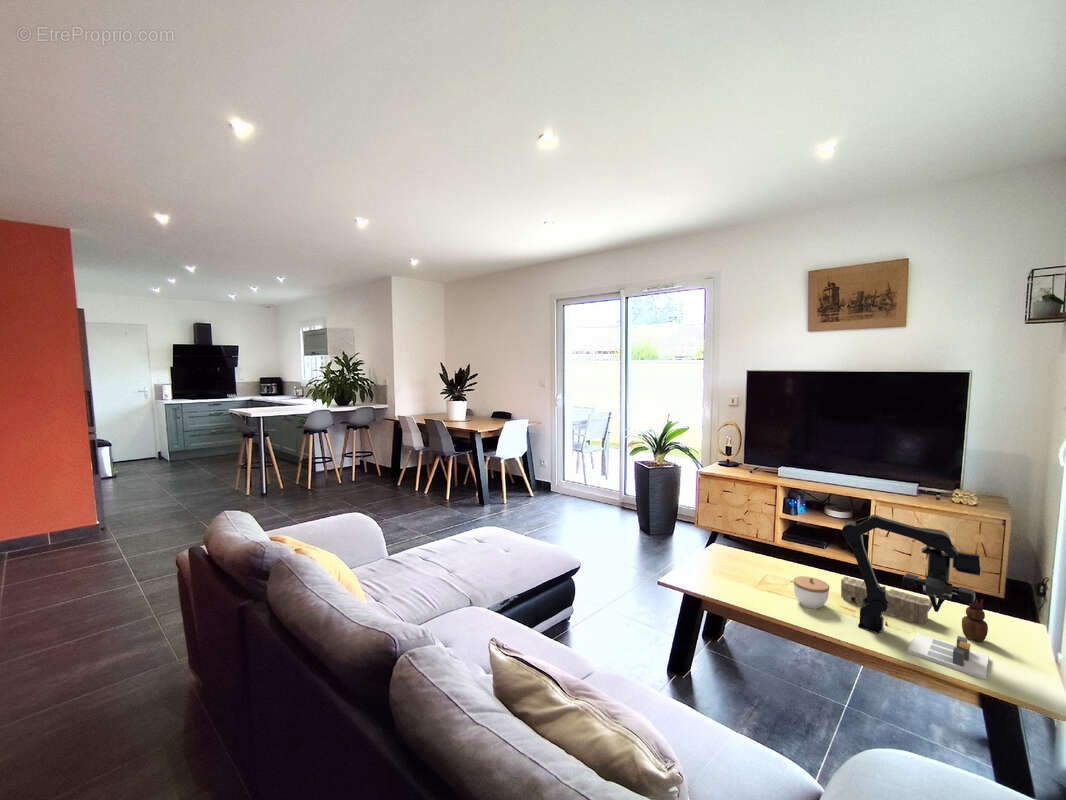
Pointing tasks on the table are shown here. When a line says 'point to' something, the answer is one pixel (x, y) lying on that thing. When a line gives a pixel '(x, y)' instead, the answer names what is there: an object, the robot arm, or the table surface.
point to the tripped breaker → (965, 649)
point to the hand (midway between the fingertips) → (936, 611)
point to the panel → (949, 655)
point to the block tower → (898, 601)
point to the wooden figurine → (975, 622)
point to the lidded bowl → (811, 591)
